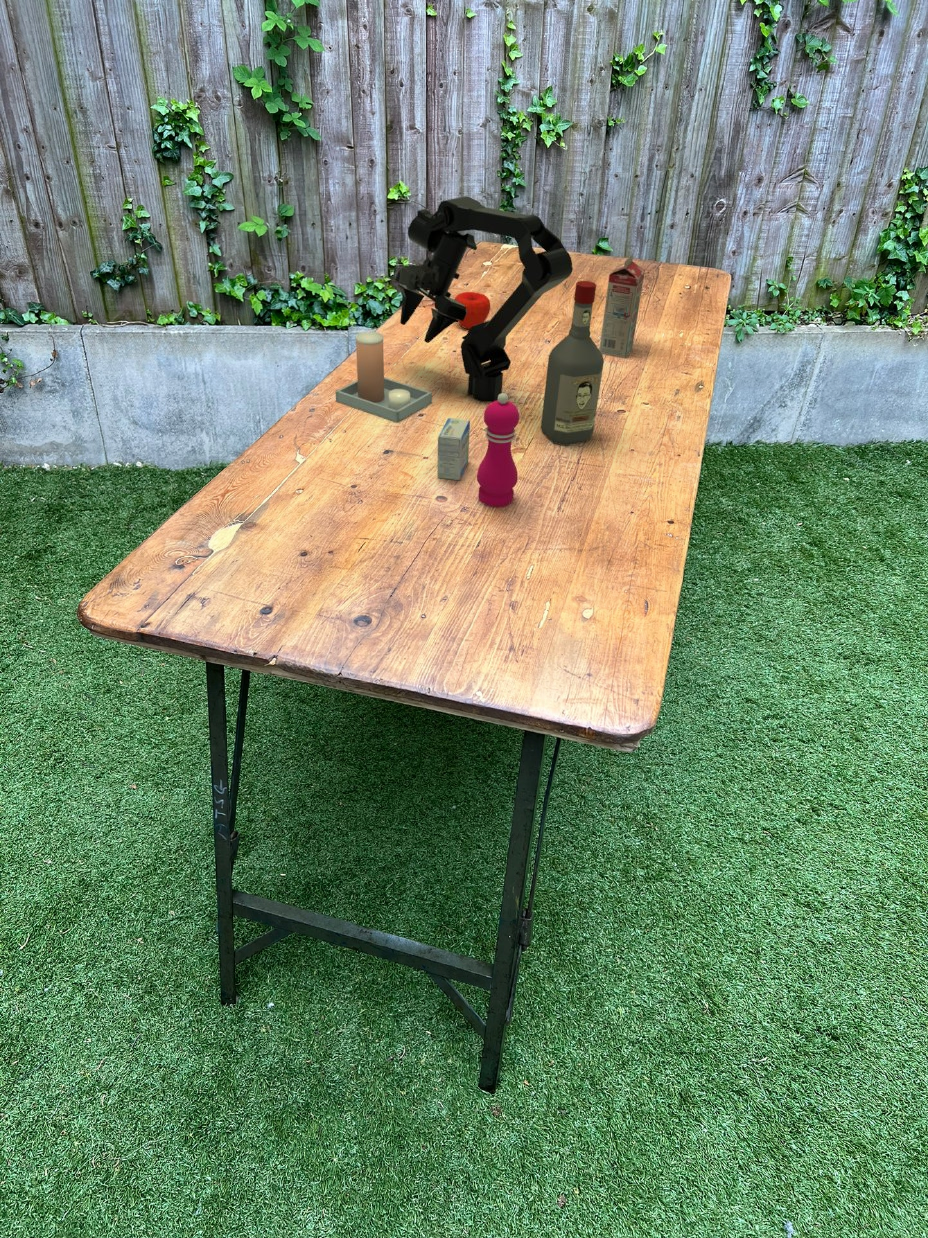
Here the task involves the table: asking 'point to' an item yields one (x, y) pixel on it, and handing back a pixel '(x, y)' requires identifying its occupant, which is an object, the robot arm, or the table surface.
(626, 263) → the juice carton
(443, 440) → the medicine box
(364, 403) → the grey shallow tray
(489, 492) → the pepper mill
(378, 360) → the coffee tin
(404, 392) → the cream dome ball
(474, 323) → the apple
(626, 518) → the table surface
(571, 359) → the liquor
